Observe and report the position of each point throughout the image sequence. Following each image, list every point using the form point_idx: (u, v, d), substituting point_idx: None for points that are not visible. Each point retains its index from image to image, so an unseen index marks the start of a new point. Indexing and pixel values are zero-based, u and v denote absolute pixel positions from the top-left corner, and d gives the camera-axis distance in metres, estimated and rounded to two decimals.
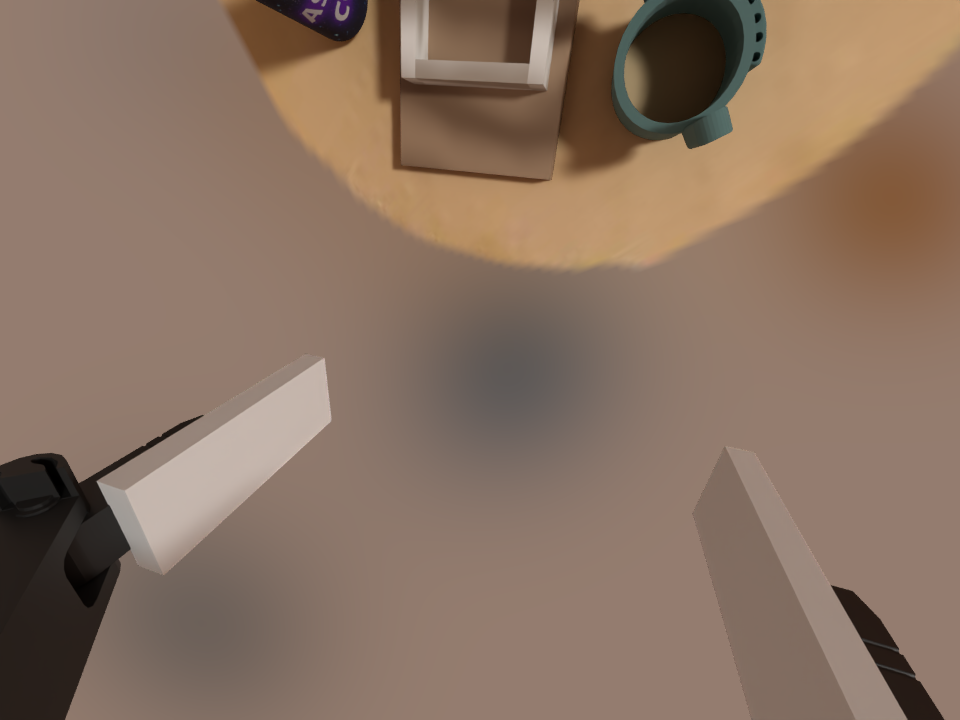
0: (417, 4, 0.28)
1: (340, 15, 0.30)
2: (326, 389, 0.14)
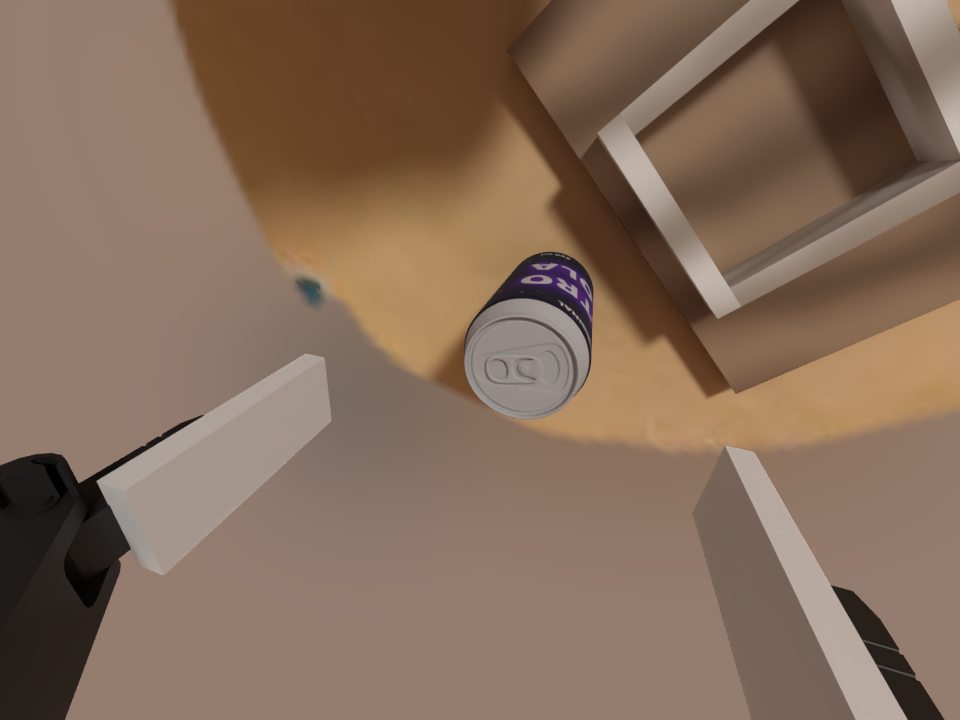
0: (694, 233, 0.19)
1: None
2: (327, 389, 0.14)
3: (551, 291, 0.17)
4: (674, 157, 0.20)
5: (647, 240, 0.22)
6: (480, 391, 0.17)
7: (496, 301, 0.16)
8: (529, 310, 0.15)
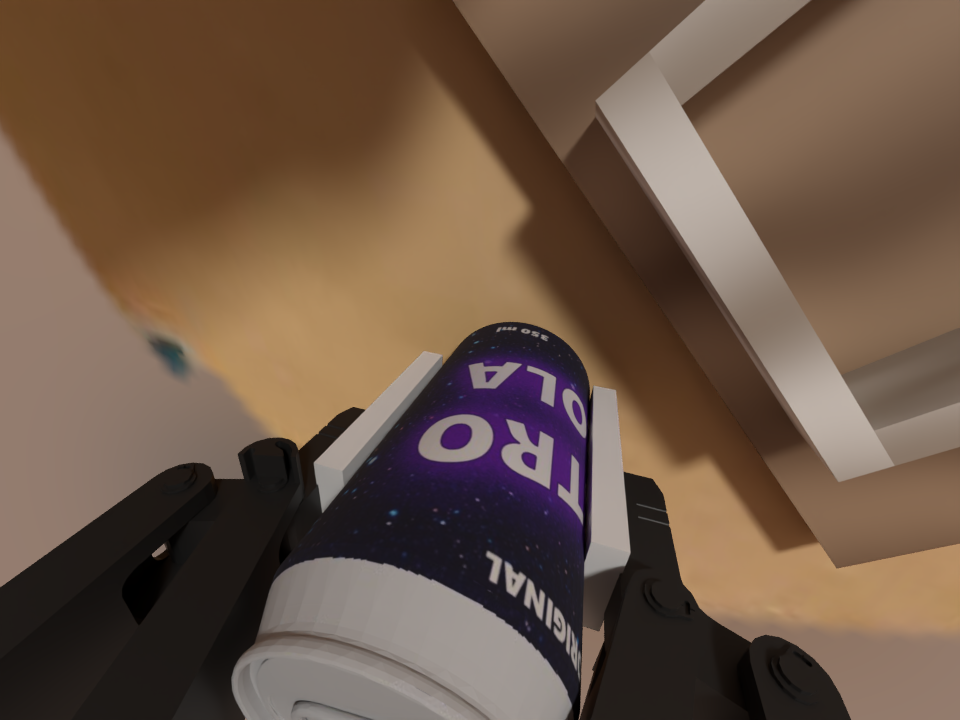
0: None
1: None
2: None
3: (477, 500, 0.06)
4: (753, 157, 0.10)
5: (690, 313, 0.12)
6: None
7: (319, 546, 0.06)
8: (387, 623, 0.05)
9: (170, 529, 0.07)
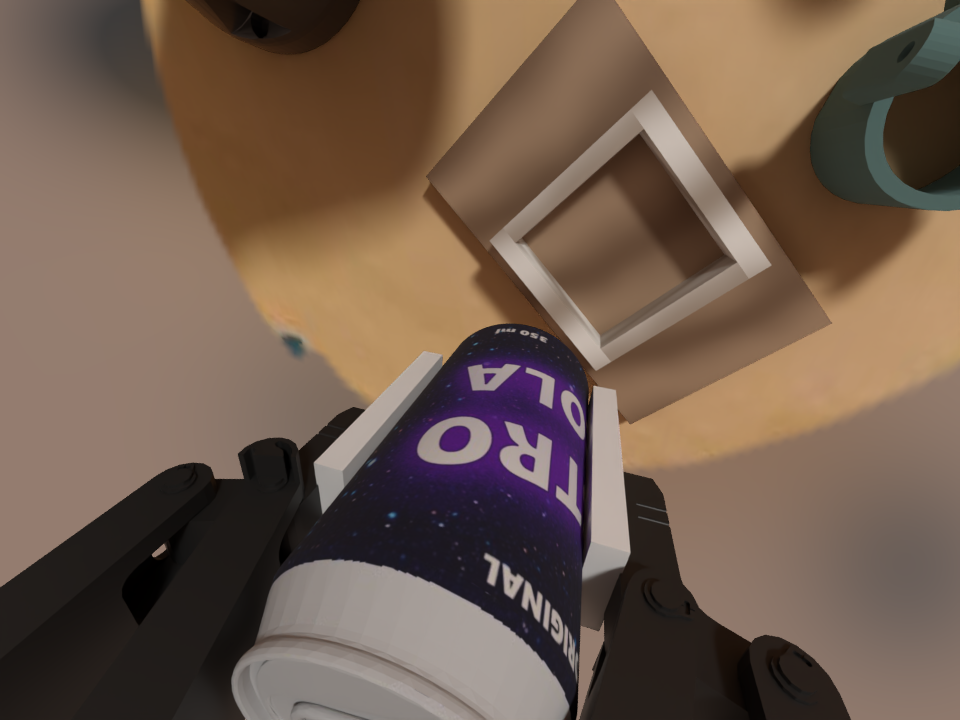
0: (570, 309, 0.25)
1: None
2: None
3: (475, 502, 0.06)
4: (555, 250, 0.26)
5: (545, 309, 0.28)
6: None
7: (318, 549, 0.06)
8: (386, 624, 0.05)
9: (170, 529, 0.07)
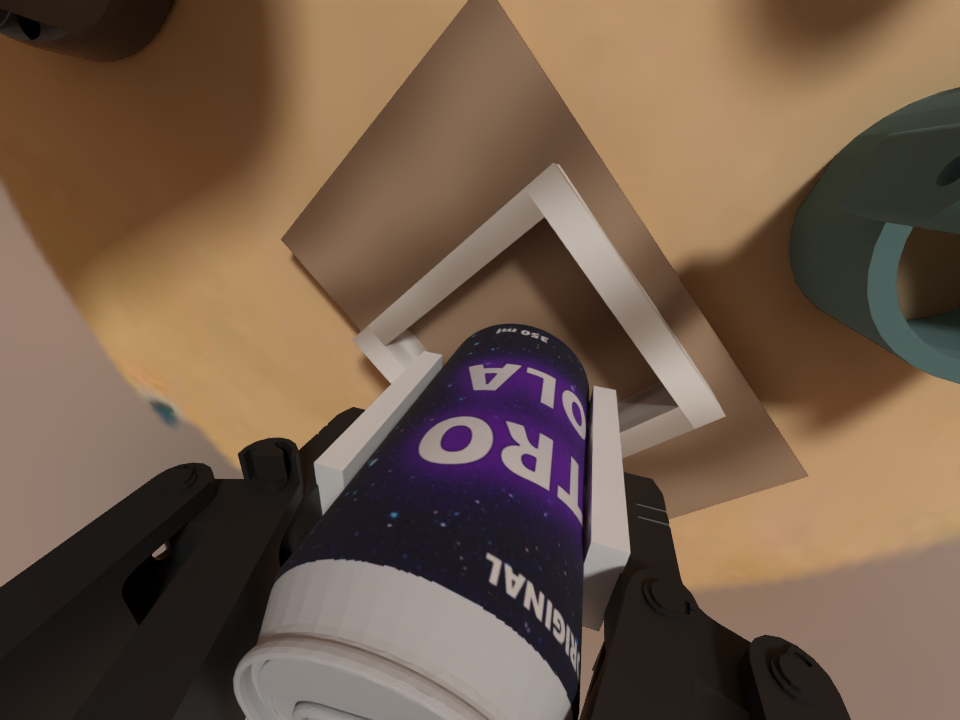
0: None
1: None
2: None
3: (477, 502, 0.06)
4: (451, 347, 0.20)
5: None
6: None
7: (320, 548, 0.06)
8: (388, 624, 0.05)
9: (170, 529, 0.07)
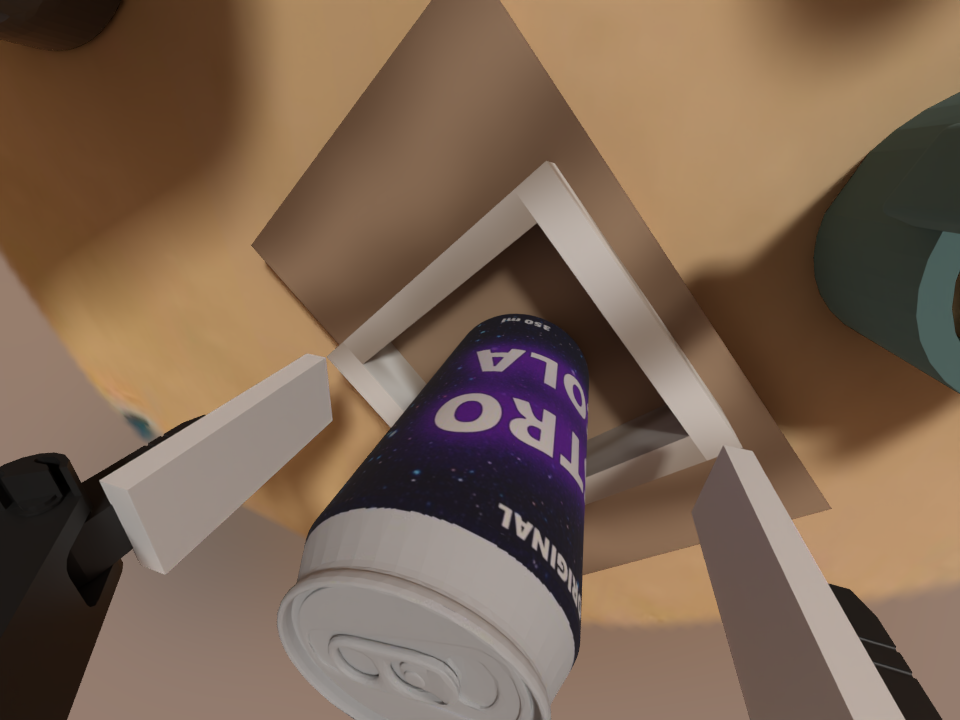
0: None
1: None
2: (328, 389, 0.14)
3: (489, 462, 0.07)
4: (437, 364, 0.18)
5: None
6: (332, 679, 0.08)
7: (352, 500, 0.07)
8: (416, 557, 0.06)
9: None
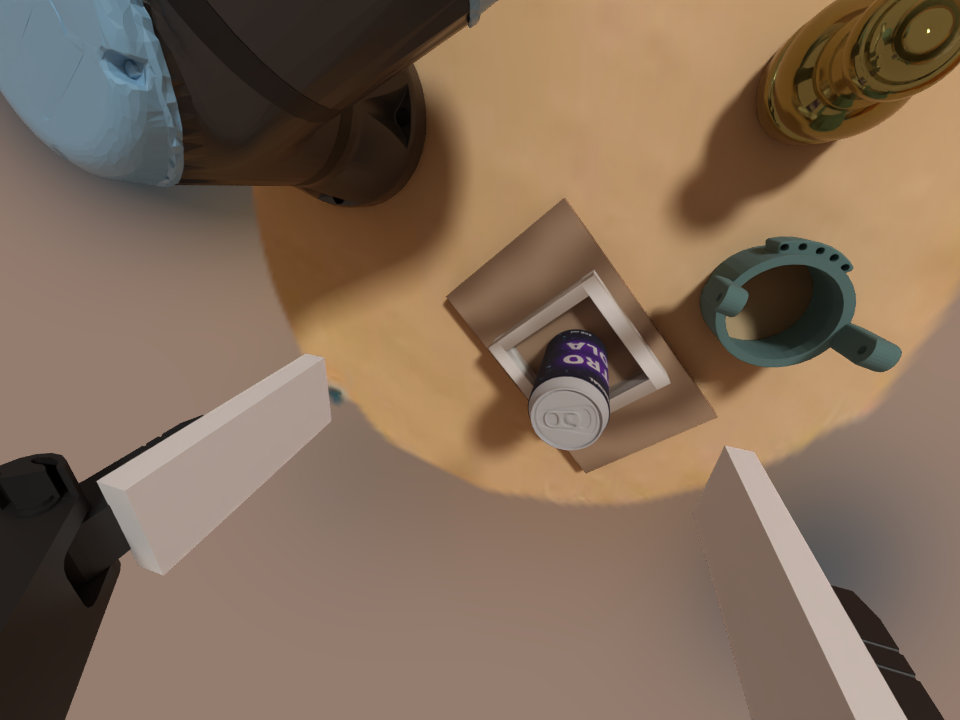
0: None
1: None
2: (327, 389, 0.14)
3: (584, 369, 0.27)
4: (534, 352, 0.38)
5: None
6: (539, 432, 0.27)
7: (551, 377, 0.26)
8: (573, 384, 0.25)
9: None
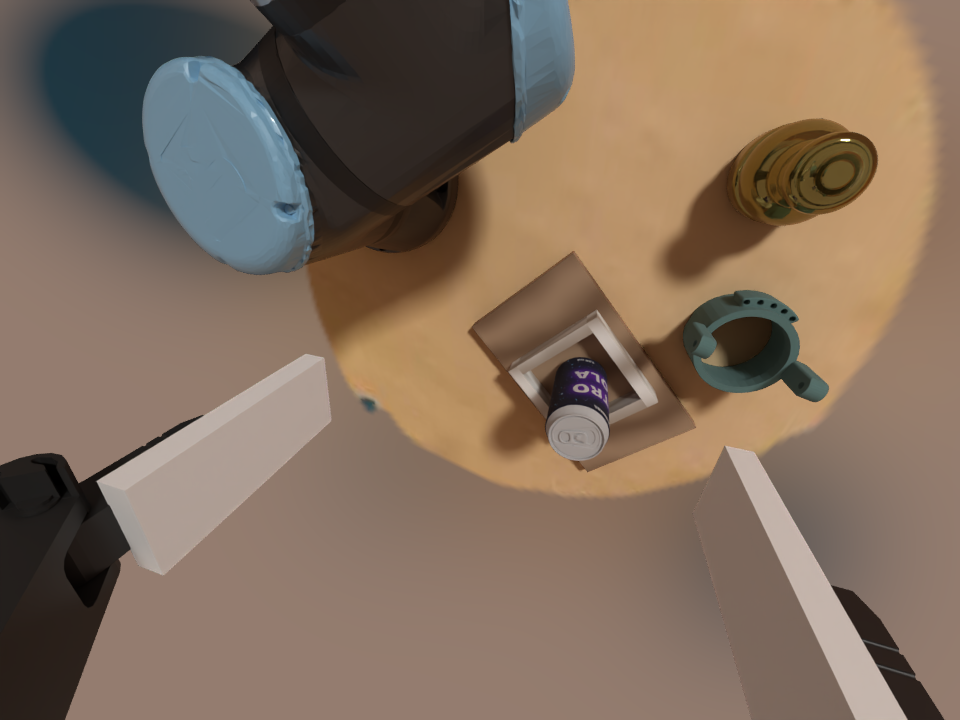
0: None
1: None
2: (326, 389, 0.14)
3: (590, 398, 0.34)
4: (545, 374, 0.45)
5: None
6: (554, 446, 0.35)
7: (564, 404, 0.34)
8: (581, 411, 0.33)
9: None
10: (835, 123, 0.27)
